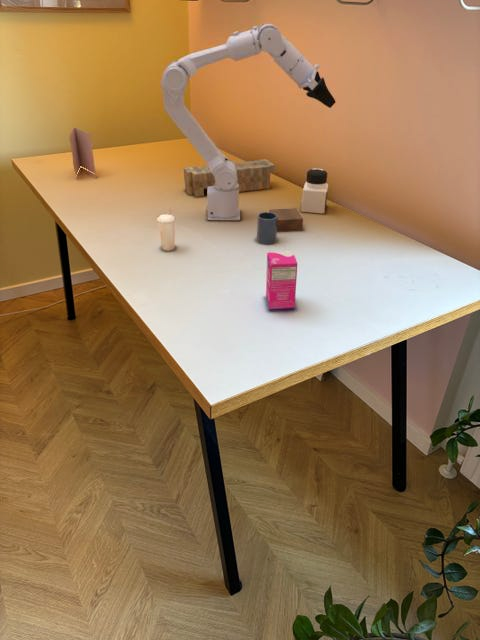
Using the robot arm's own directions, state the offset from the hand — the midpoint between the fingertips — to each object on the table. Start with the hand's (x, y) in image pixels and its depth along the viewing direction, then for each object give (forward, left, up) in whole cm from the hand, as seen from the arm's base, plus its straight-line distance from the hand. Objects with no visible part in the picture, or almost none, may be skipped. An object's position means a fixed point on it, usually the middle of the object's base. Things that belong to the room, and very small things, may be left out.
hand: (330, 101), depth 138 cm
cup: (-17, -17, -32) cm, 40 cm away
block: (-11, -7, -32) cm, 35 cm away
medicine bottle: (-1, +6, -32) cm, 33 cm away
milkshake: (-43, -22, -32) cm, 58 cm away
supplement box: (-16, -50, -32) cm, 62 cm away
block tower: (-27, +23, -32) cm, 48 cm away
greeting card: (-78, +37, -32) cm, 92 cm away
